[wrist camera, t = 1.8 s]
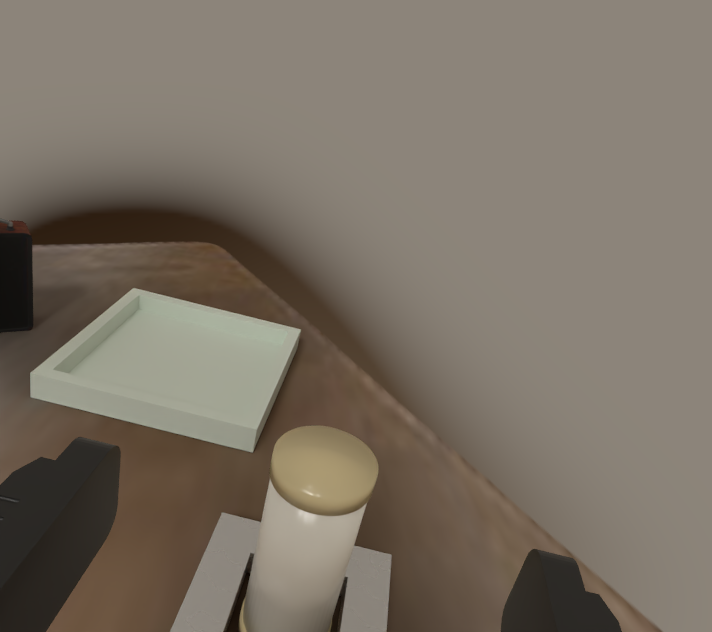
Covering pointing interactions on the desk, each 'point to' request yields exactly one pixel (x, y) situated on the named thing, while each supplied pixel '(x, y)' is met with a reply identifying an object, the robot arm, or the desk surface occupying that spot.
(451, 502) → the desk surface
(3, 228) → the radio
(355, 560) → the fuse holder
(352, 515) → the cartridge fuse
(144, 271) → the desk surface
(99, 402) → the parts tray
